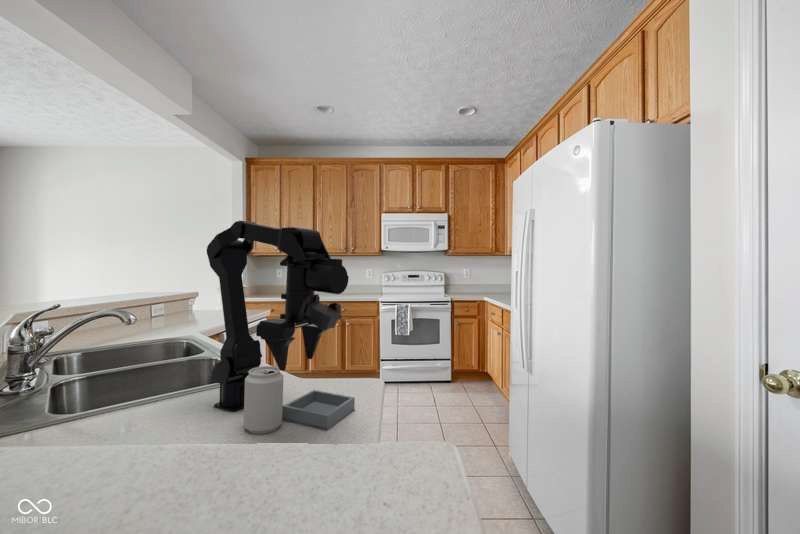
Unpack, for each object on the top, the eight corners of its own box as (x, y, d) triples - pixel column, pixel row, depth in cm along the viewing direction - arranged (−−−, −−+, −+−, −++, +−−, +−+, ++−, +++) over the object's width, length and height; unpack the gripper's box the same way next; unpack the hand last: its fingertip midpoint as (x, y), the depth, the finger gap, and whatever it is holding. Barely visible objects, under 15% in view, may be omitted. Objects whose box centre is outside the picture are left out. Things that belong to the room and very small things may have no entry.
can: (269, 437, 72) (271, 376, 72) (235, 432, 73) (237, 373, 73) (288, 421, 79) (290, 366, 79) (257, 417, 81) (258, 363, 80)
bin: (282, 420, 80) (282, 406, 80) (313, 401, 90) (313, 389, 90) (327, 430, 75) (327, 416, 75) (354, 410, 86) (354, 397, 86)
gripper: (306, 296, 64) (302, 385, 65) (356, 289, 82) (352, 359, 82) (255, 291, 68) (252, 374, 69) (313, 285, 86) (310, 352, 86)
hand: (296, 364), depth 76 cm, fingers open, 9 cm apart
